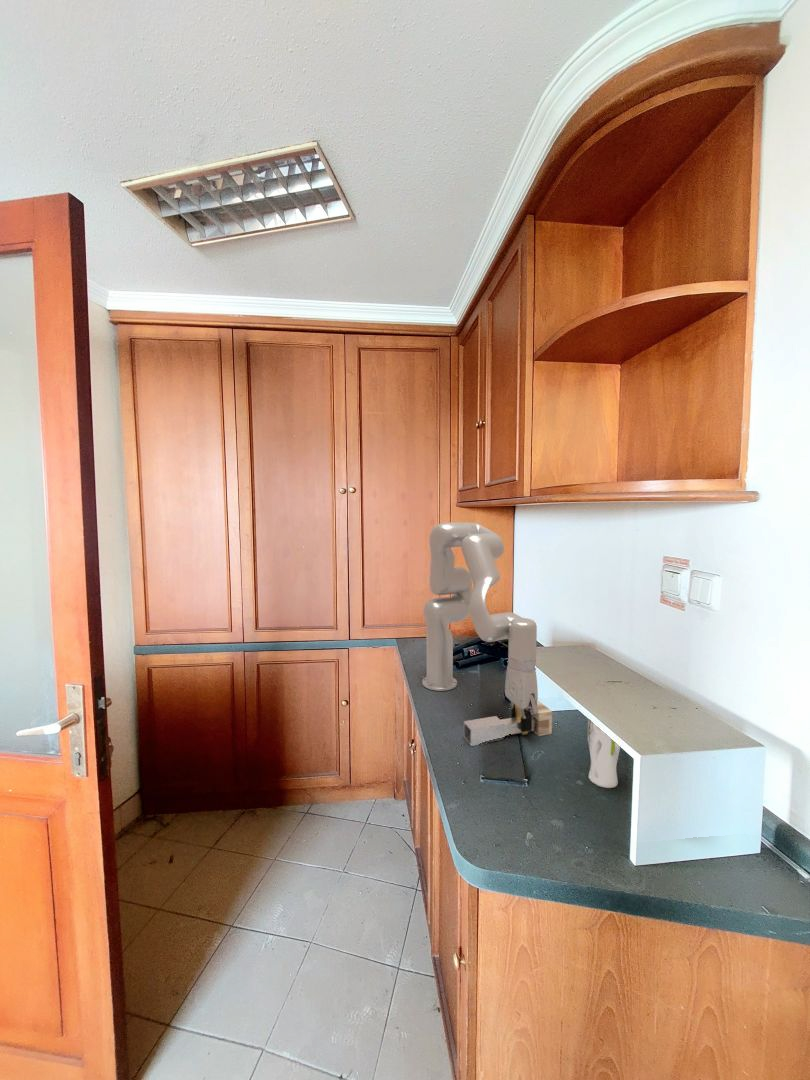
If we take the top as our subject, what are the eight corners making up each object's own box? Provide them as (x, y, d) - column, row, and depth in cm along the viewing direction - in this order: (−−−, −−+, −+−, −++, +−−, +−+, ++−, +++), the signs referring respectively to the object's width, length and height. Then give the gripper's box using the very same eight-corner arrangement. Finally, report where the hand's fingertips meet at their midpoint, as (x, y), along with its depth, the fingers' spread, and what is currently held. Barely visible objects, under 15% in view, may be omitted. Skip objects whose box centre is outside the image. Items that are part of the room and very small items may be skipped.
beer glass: (624, 791, 91) (625, 725, 90) (590, 787, 93) (592, 722, 92) (614, 772, 98) (616, 711, 97) (583, 769, 100) (584, 708, 99)
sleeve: (463, 737, 114) (463, 721, 114) (496, 731, 117) (496, 716, 117) (471, 746, 110) (471, 729, 109) (504, 740, 112) (504, 723, 112)
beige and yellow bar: (483, 733, 115) (483, 708, 115) (533, 724, 120) (533, 701, 120) (490, 740, 111) (490, 715, 111) (541, 731, 116) (541, 707, 116)
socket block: (525, 724, 121) (525, 703, 120) (538, 722, 122) (538, 701, 121) (538, 736, 114) (539, 713, 114) (551, 733, 116) (552, 711, 115)
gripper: (495, 654, 122) (494, 714, 123) (527, 675, 106) (526, 744, 107) (517, 652, 124) (516, 711, 126) (552, 672, 108) (551, 740, 109)
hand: (521, 726), depth 116 cm, fingers closed on beige and yellow bar, 4 cm apart
